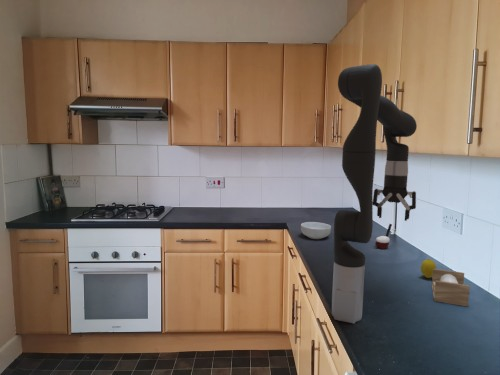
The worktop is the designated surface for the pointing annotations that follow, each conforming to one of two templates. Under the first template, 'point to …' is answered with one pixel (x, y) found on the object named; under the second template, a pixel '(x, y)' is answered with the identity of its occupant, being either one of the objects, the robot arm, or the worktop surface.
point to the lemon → (428, 268)
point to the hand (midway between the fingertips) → (392, 219)
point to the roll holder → (450, 288)
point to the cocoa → (383, 240)
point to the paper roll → (448, 278)
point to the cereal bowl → (315, 230)
